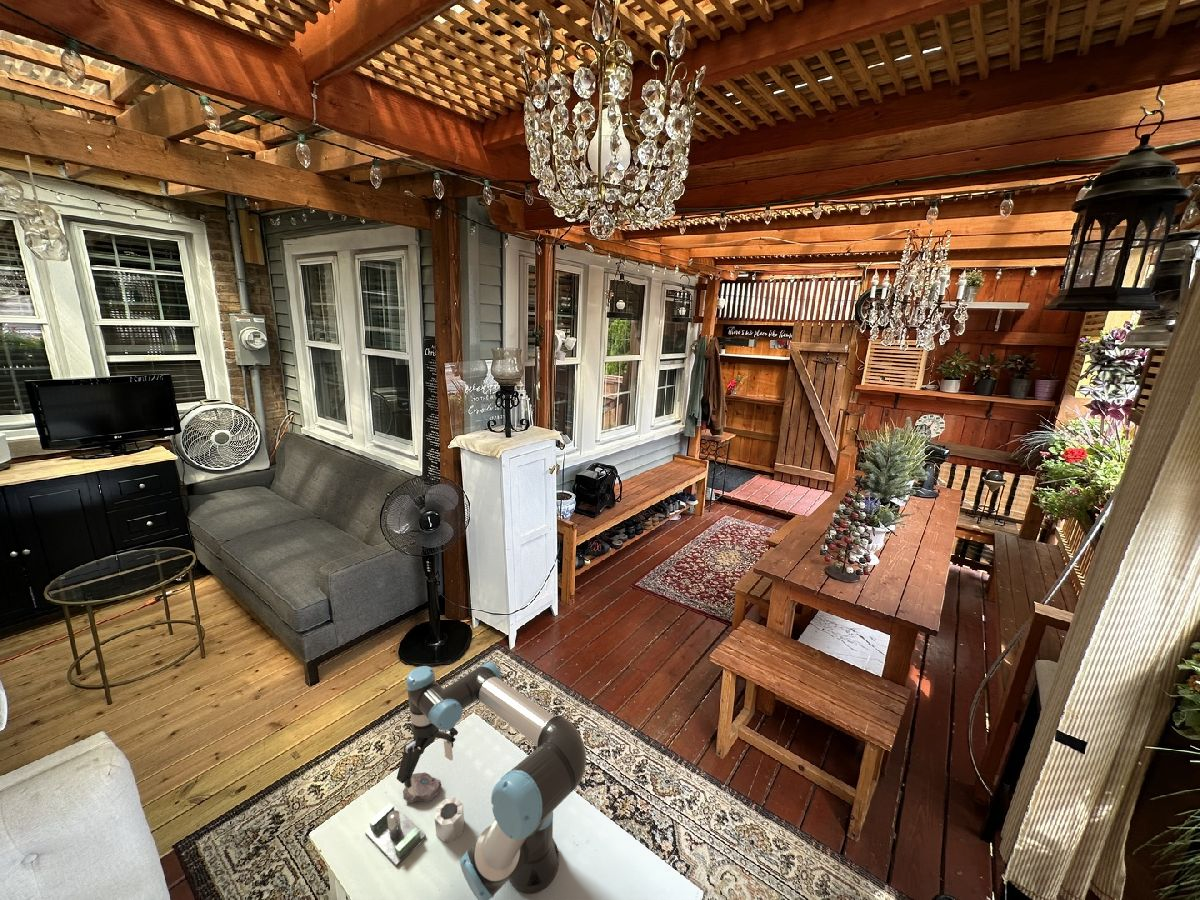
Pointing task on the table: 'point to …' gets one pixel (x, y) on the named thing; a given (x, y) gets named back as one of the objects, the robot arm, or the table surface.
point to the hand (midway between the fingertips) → (431, 774)
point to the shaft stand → (394, 834)
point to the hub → (449, 819)
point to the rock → (423, 788)
